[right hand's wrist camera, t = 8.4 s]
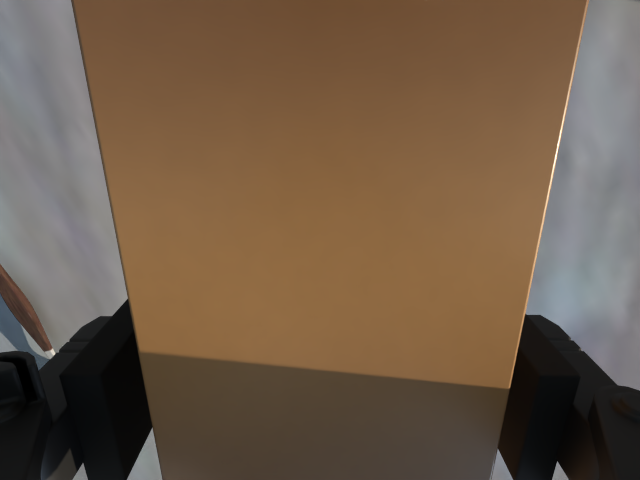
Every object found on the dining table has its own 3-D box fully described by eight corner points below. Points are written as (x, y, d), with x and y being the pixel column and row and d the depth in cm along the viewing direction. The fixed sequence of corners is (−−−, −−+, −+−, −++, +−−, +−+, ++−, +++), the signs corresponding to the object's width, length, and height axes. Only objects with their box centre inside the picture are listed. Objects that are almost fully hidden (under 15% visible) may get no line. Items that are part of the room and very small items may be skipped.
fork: (-7, 215, 24) (-35, 226, 22) (117, 417, 29) (103, 440, 27) (-46, 227, 24) (-77, 239, 22) (85, 425, 30) (69, 448, 28)
